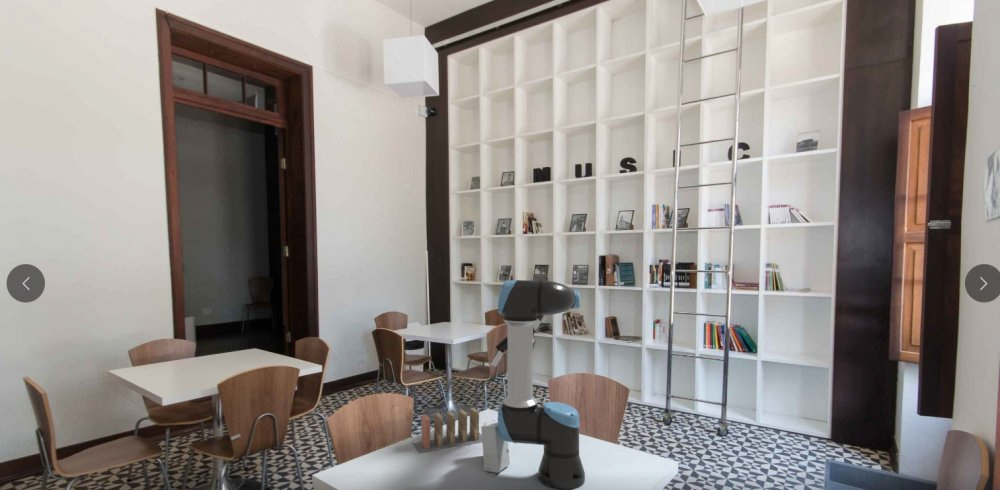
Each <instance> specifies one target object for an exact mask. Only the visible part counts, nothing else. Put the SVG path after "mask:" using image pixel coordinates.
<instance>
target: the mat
mask: <svg viewBox="0 0 1000 490" xmlns="http://www.w3.org/2000/svg"><path fill="white" fill-rule="evenodd" d="M421 443H422V440H421V441H415V442H411V444H412V446H413V447H414V448H415V451H417V453H418V454H427V453H430V452H437V451H443V450H447V449H453V448H460V447H464V446H465V447H466V446H471V445H475V444H476V445H477V444H481V443H482V433H481V432H479V440H478V441H475V440H474V439H473V438H472V437H470V432H469V433H468V432H467V443H463V442H462V441H461V440H460V439H459V438H458V434H457V435H456V434H455V445H451V444H450V443H449V442H448V441H447V440H446V436H445V437H444V436H443V447H438V446H437V445H436V444H435V442H434V438H432V439H430V449H427V450H426V449H425V448H424V447H423V445H422V444H421Z"/></svg>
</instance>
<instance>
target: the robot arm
mask: <svg viewBox="0 0 1000 490" xmlns="http://www.w3.org/2000/svg"><path fill="white" fill-rule="evenodd" d="M497 301H498V302H497V312H498V314H499V315H501V316H502V320H503V322H504V323H505V324H506V325H507V336H506V337H505V338H503V339H502V340H501V341H500V342H499V343H498V344H496V346H495V349H497V352H496V353H495V355H494V359H493V360H492V362H491V365H492V366H493V367H494V368H496V367H498V364H499V362H501V359H502V357H503V356H504V352H505V351H507V395H506V397H505V398H504V399H503V400H502V404H500V405H499V406H498V409H497V421H498V428H499V433H500V436H501V438H502V439H503V440H504V441H508V443H514V444H526V445H540V446H543V454H542V458H541V461H540V463H539V466H538V473H537V474H538V475H537V476H538V477H537V478H538V480H539V481H540V483H542V484H543V485H545V486H547V487H550V488H553V489H559V490H571V489H576V488H579V487H581V486H583V484H584V483H585V480H586V474H585V468H584V465H583V463H582V459H581V456H580V427H581V424H580V414H579V411H578V410H577V409H576V408H575V407H574V406H571V405H570V404H567V403H563V402H559V401H558V402H557V401H548V402H545V403H544V404H543V406H542V407H540V406H538V400H537V399H536V397H535V396H534V347H535V343H536V340H535V339H534V335H535V333H536V330H537V329H538V327H539V326H540V325H541V322H542V321H543V319H544V318H545V316H552V315H558V314H562V313H565V312H568V311H570V310H573V309H580V306H581V294H580V291H579V290H573V289H571V288H570V287H569V286H567V285H565V284H563V283H561V282H556V281H552V280H530V279H529V280H527V279H526V280H525V279H520V280H519V279H512V280H505V281H504V282H502V285H501V287H500V289H499V295H498V300H497Z"/></svg>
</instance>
